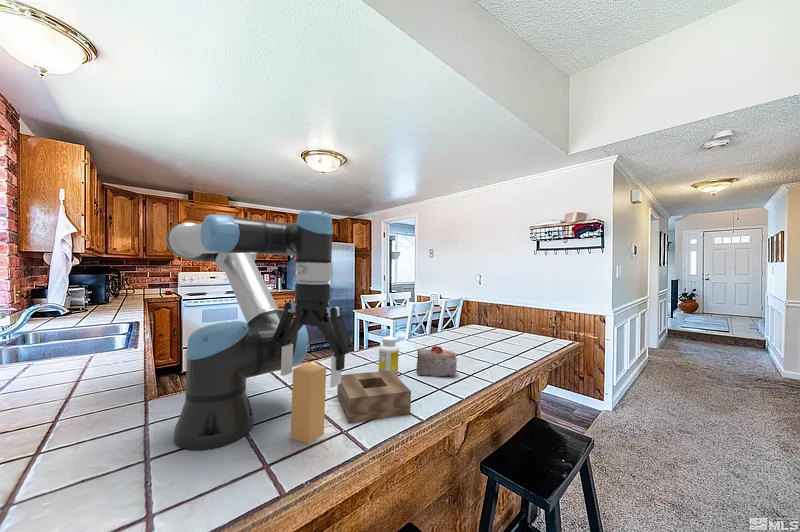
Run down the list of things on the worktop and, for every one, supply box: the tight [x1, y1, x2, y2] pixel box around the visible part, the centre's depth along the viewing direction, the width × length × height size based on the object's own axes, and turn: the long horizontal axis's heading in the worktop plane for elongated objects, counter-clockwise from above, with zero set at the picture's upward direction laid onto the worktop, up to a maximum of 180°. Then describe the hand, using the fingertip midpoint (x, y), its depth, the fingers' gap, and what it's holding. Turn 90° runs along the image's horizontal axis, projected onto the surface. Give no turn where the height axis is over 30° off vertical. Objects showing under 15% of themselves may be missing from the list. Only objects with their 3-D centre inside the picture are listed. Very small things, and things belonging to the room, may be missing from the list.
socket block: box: [336, 370, 412, 424], centre depth 87 cm, size 16×16×6 cm
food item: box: [416, 345, 458, 378], centre depth 112 cm, size 14×8×10 cm, turn 90°
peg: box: [290, 362, 327, 445], centre depth 70 cm, size 5×5×15 cm
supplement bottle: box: [378, 336, 400, 377], centre depth 109 cm, size 7×7×13 cm
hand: (310, 379), depth 70 cm, fingers open, 13 cm apart
